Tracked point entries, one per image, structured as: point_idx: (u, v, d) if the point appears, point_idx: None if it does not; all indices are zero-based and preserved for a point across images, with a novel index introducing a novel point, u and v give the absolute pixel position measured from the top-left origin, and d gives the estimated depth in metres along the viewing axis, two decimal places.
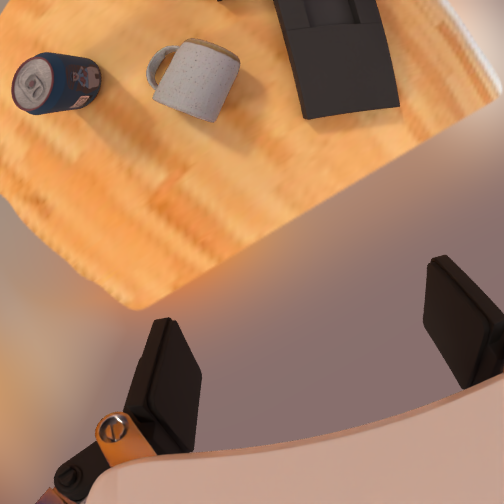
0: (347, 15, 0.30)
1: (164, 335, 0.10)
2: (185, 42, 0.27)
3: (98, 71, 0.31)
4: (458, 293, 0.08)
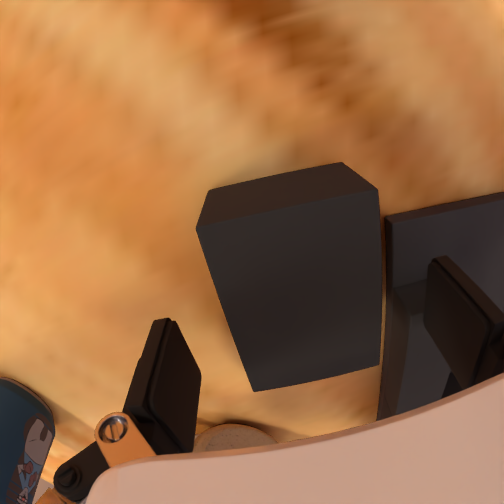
0: None
1: (163, 335, 0.10)
2: None
3: (41, 421, 0.16)
4: (459, 293, 0.08)
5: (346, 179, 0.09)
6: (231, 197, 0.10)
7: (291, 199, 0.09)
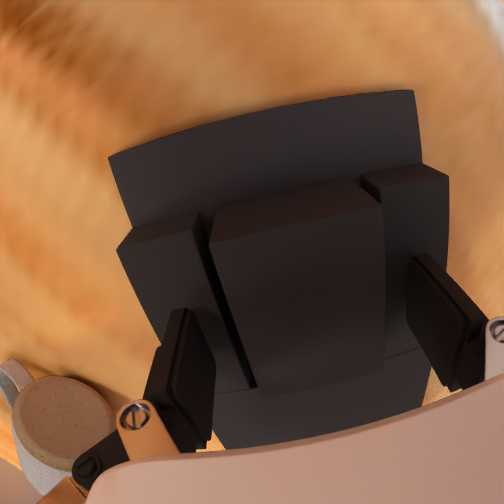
0: None
1: (182, 324, 0.10)
2: (13, 424, 0.12)
3: None
4: (436, 290, 0.08)
5: (352, 195, 0.10)
6: (241, 212, 0.10)
7: (299, 216, 0.09)
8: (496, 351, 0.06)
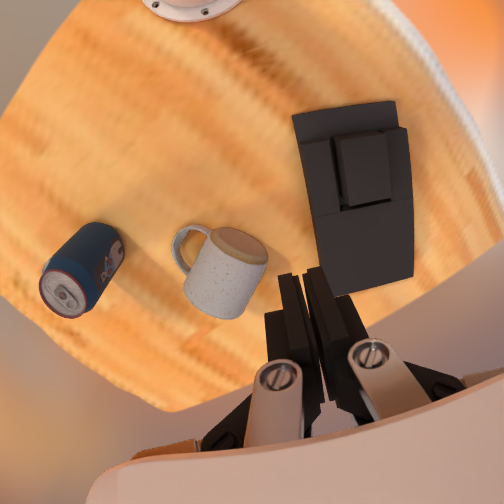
0: None
1: (296, 286, 0.10)
2: (213, 244, 0.32)
3: (120, 242, 0.36)
4: (312, 306, 0.09)
5: (375, 132, 0.30)
6: (343, 136, 0.31)
7: (362, 135, 0.29)
8: (374, 379, 0.07)
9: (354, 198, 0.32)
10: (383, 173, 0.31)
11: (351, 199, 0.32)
